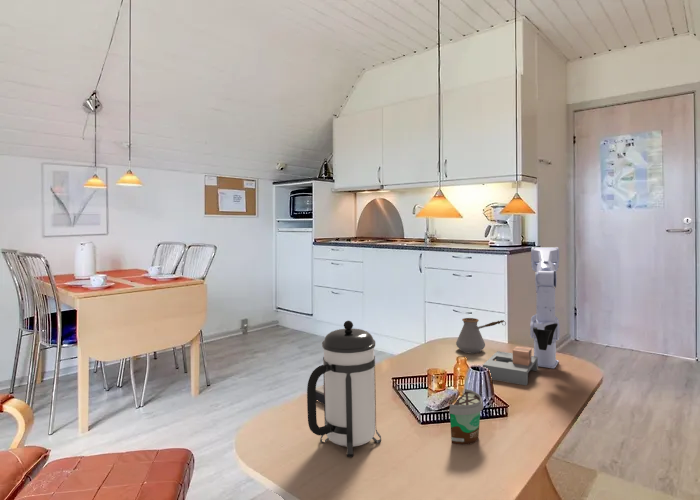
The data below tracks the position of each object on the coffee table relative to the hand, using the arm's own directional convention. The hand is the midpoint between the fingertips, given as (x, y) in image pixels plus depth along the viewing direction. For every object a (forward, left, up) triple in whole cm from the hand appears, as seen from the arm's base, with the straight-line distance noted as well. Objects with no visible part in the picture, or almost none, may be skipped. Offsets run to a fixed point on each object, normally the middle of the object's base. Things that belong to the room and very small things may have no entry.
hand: (545, 347), depth 150 cm
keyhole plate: (+2, -11, -10) cm, 15 cm away
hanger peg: (+1, -7, -9) cm, 11 cm away
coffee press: (+72, -32, -11) cm, 79 cm away
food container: (+54, -8, -11) cm, 55 cm away
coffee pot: (-16, -27, -11) cm, 33 cm away
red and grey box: (+48, -49, -11) cm, 70 cm away
